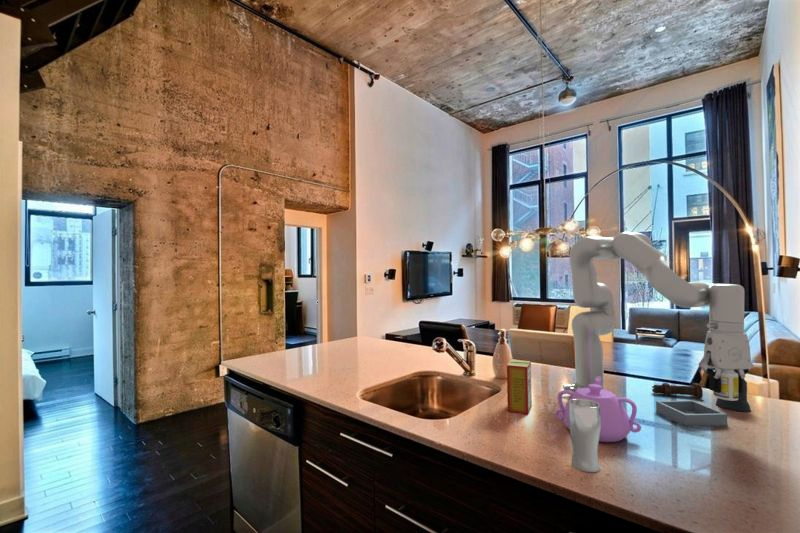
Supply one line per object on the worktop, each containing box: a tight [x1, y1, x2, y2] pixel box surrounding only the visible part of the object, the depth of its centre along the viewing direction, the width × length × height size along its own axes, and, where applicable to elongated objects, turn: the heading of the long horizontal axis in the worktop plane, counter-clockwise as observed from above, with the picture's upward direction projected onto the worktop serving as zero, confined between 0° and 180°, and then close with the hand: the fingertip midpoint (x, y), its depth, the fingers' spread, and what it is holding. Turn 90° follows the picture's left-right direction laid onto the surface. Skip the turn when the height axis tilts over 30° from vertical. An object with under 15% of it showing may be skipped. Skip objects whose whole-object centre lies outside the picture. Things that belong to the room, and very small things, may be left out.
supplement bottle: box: [712, 369, 739, 401], centre depth 107 cm, size 5×5×10 cm
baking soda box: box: [506, 359, 533, 416], centre depth 129 cm, size 10×6×16 cm
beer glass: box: [568, 399, 601, 473], centre depth 90 cm, size 7×7×15 cm
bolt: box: [651, 382, 704, 399], centre depth 141 cm, size 6×5×15 cm
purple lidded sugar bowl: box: [554, 376, 642, 443], centre depth 111 cm, size 22×22×14 cm
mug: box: [715, 378, 752, 413], centre depth 130 cm, size 12×9×11 cm
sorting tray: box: [655, 399, 728, 428], centre depth 119 cm, size 13×13×4 cm
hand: (725, 390), depth 107 cm, fingers closed on supplement bottle, 5 cm apart
